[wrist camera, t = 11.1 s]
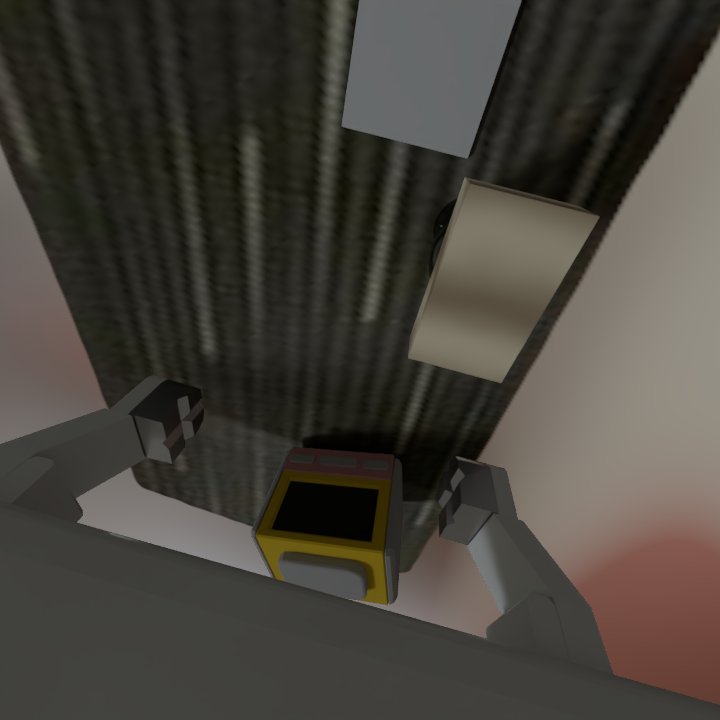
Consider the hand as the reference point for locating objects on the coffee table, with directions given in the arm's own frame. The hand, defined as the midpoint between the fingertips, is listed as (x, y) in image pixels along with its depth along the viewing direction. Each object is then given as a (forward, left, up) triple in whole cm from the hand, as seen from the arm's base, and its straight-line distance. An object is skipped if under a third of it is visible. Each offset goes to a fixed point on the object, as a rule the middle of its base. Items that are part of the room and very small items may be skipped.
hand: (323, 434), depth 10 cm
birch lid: (-1, +7, -15) cm, 17 cm away
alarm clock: (+43, +3, -31) cm, 53 cm away
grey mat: (-13, -1, -30) cm, 33 cm away
